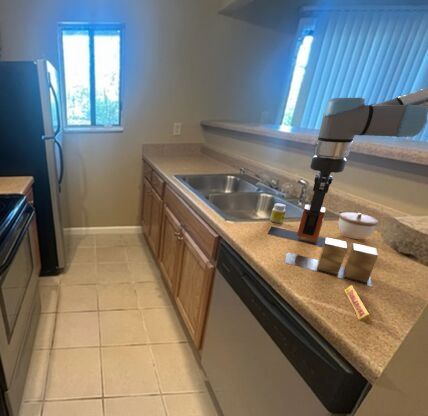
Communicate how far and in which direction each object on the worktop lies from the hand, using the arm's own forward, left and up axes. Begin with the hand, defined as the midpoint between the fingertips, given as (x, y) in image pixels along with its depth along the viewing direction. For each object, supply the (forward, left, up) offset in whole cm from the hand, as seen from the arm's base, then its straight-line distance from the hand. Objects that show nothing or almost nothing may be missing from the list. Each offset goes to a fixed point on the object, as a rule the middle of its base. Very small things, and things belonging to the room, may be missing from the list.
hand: (308, 230), depth 85 cm
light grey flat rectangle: (-7, 0, -11) cm, 13 cm away
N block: (-14, 0, -11) cm, 17 cm away
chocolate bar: (-13, +16, -11) cm, 24 cm away
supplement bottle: (+11, -30, -11) cm, 34 cm away
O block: (-1, -20, -11) cm, 23 cm away
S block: (0, 0, -1) cm, 1 cm away
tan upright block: (-7, 0, -11) cm, 13 cm away
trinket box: (-14, -33, -11) cm, 38 cm away
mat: (+3, -20, -11) cm, 23 cm away
